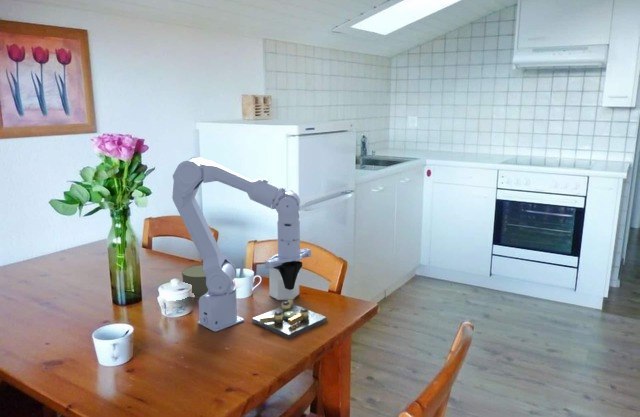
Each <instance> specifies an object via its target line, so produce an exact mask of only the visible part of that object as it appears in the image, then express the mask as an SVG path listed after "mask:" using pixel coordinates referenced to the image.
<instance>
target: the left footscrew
mask: <svg viewBox="0 0 640 417" xmlns="http://www.w3.org/2000/svg"><path fill="white" fill-rule="evenodd" d="M270 322H275V323H282V322H283V313H282V312H281V311H276V312H275V313H274V315H271V316H263V317H260V323H261V324H262V323H270Z"/></svg>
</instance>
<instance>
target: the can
mask: <svg viewBox="0 0 640 417" xmlns="http://www.w3.org/2000/svg"><path fill="white" fill-rule="evenodd" d="M181 275H182V283H183V282H185V283H188V284H191V285H192V293H194V295H195V298H194V299H200V297H201V296H203V295H205V294H206V293H207V292H208V288H207V285H206V276H205V273H204V271H203V263H202V264H194V265H190V266H187V267H185V268H183V269H182V270H181Z"/></svg>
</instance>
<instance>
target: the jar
mask: <svg viewBox="0 0 640 417" xmlns="http://www.w3.org/2000/svg"><path fill="white" fill-rule="evenodd" d="M277 254H278V253H277ZM277 254H273V255H271V256H270V258H272V257H274V256H275V255H277ZM268 271H269V272H268V274H269V275H268V277H269V296H270V297H272V298H274V300H277V301H288V300H289V299H293V300H294V299H295V298H296V297H298V296H299V295H300V272H299V273H298V275H297V278H296V281H295V285H294V289H292V290H288V289H286V288H285V286H284V282H283V279H282V276H281V274H280V272H279V270H278V268H277V267H273V269H269V270H268Z"/></svg>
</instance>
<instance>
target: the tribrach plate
mask: <svg viewBox="0 0 640 417" xmlns="http://www.w3.org/2000/svg"><path fill="white" fill-rule="evenodd" d="M302 308H303V307H302V306H300V305H297V304H294V303H293V304H292V306H291V311H287V312H282V306H279V307H277V308H275V309H272V310H269V311H267V312H265V313H262V314H260V315H257V316H254V317H252V318H251V319H252V322H251V323H253V324H255V325H258V326H260V327H262V328H264V329H266V330H269V331H271V332H272V333H274V334H277V335H279V336H281V337H284V338H286V339H288V340H289V339H291V338H293V337H296V336H297V335H300V334H303V333H305V332H307V331H309V330H312V329H314V328H316V327H318V326H320V325H322V324H324V323H326V322H328V317H327V316H324V315H322V314H321V313H317V312H314V311H312V310H309V309H308V310H309V319H307V320H301V321H299V322H297V323H295V324H293V325H289V324H288V319H290V318H292V317H294V316H296V315H298V314H300V310H301V309H302ZM276 311H281V312H282V313H283V322H282V323H275V322H270V323H262V324H261V323H260V317H263V316H271V315H274V313H275V312H276Z"/></svg>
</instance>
